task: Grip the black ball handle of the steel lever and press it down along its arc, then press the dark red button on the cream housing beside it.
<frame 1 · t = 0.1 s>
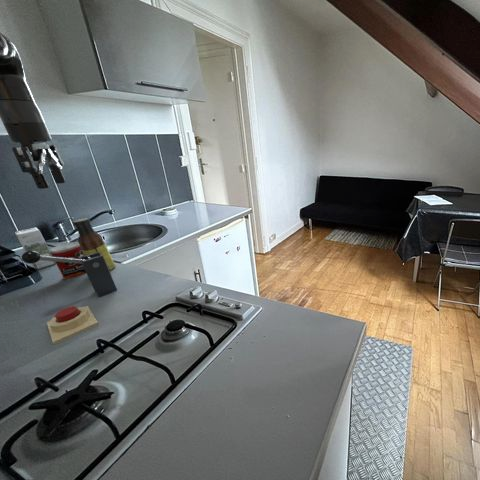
hand: (53, 185, 72), 32 cm above the worktop, tool pointing down, fingers open, 8 cm apart
button: (67, 314, 62), point 4 cm above the worktop, slide at 0.1 cm
sauce bottle: (106, 273, 91), on the worktop
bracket: (107, 294, 78), on the worktop
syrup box: (45, 266, 100), on the worktop
lever: (64, 259, 69), point 14 cm above the worktop, hinge at 30.0°
button box: (75, 329, 64), on the worktop
canned food: (79, 275, 91), on the worktop
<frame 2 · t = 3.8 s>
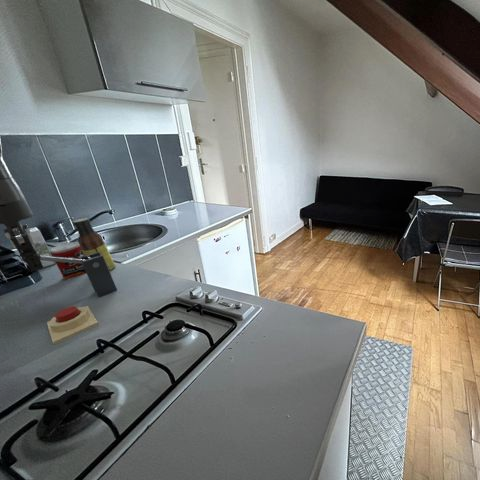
hand: (36, 267, 65), 14 cm above the worktop, tool pointing down, fingers closed on lever, 3 cm apart
lever: (64, 259, 69), point 14 cm above the worktop, hinge at 30.0°, touching gripper
everything else where it was.
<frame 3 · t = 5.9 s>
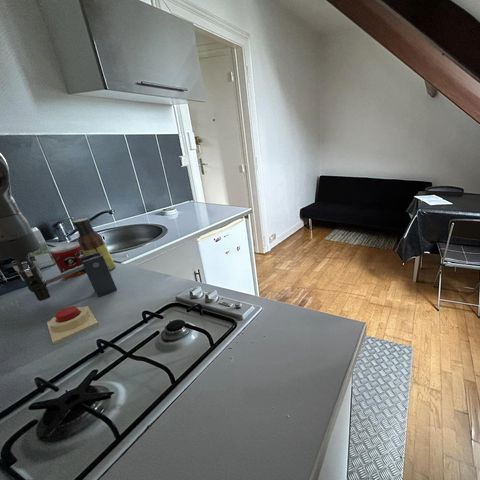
hand: (44, 296, 67), 6 cm above the worktop, tool pointing down, fingers closed on lever, 3 cm apart
lever: (66, 273, 70), point 10 cm above the worktop, hinge at -7.6°, touching gripper
everything else where it was.
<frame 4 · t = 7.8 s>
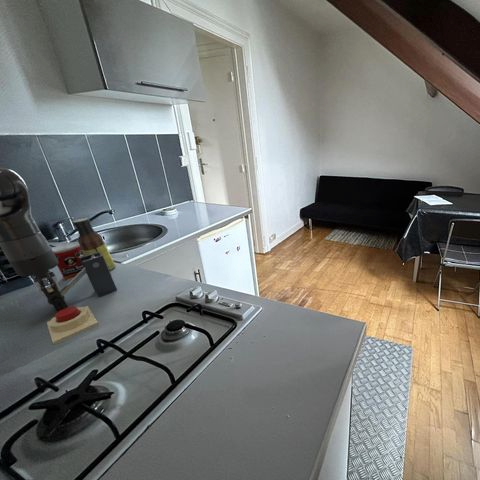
hand: (62, 309, 70), 1 cm above the worktop, tool pointing down, fingers closed on lever, 3 cm apart
lever: (75, 280, 71), point 8 cm above the worktop, hinge at -33.2°, touching gripper
everything else where it was.
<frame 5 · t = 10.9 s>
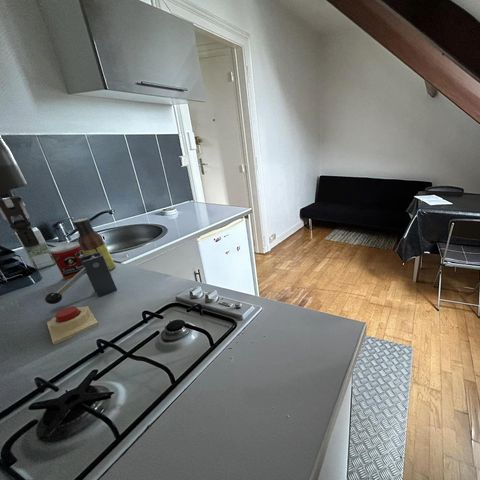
hand: (30, 242, 56), 23 cm above the worktop, tool pointing down, fingers open, 8 cm apart
lever: (73, 279, 71), point 8 cm above the worktop, hinge at -30.4°
everything else where it was.
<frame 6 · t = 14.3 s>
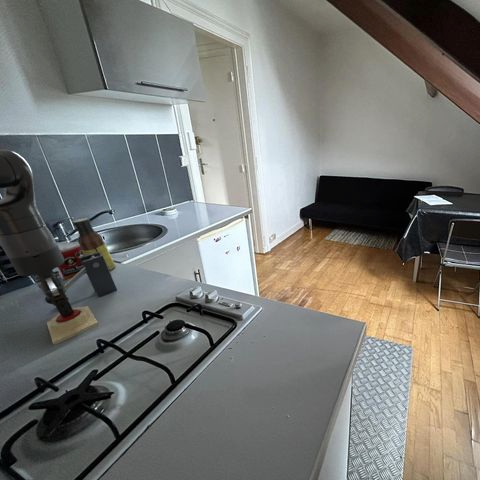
hand: (68, 314, 62), 4 cm above the worktop, tool pointing down, fingers closed
button: (69, 317, 63), point 4 cm above the worktop, slide at -0.8 cm, touching gripper
everything else where it was.
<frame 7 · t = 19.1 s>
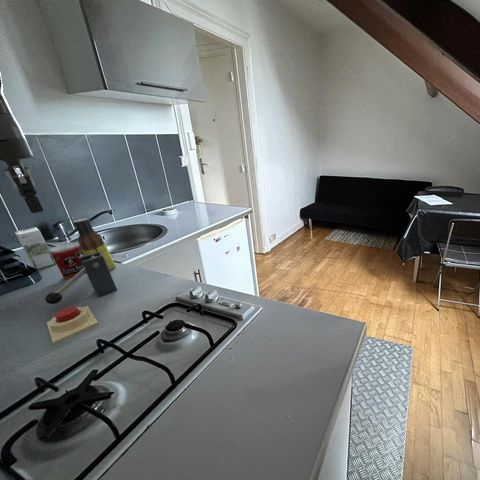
hand: (37, 211, 65), 27 cm above the worktop, tool pointing down, fingers closed
button: (67, 314, 62), point 4 cm above the worktop, slide at 0.1 cm
everything else where it was.
at the end: lever at -30° (first picture: +30°); button pushed in 1.1 cm at the most during the clip, back to where it started at the end; button slide at 0.1 cm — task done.
